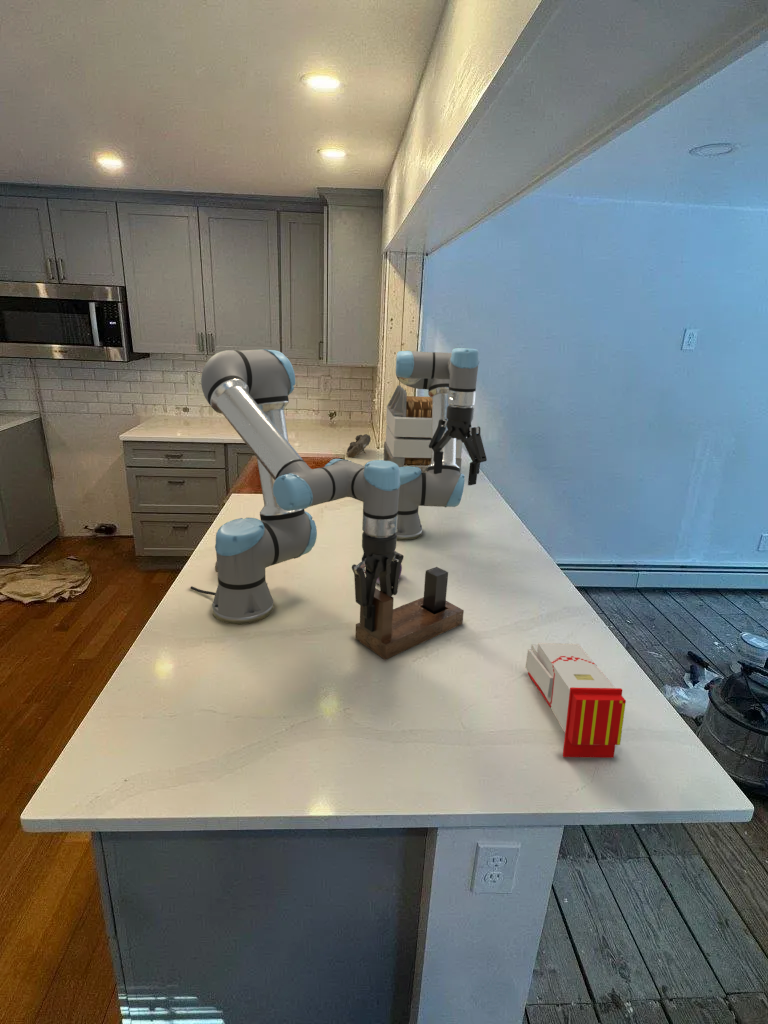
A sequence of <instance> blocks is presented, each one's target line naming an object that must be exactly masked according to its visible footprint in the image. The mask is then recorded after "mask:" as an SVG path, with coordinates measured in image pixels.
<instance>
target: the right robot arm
mask: <svg viewBox="0 0 768 1024" xmlns="http://www.w3.org/2000/svg"><path fill="white" fill-rule="evenodd" d="M479 365H480V351H479V350H478V349H477V348H470V347H469V348H468V347H455V348H453V349H452V350H451V352H442V351H441V352H436V351H415V350H399V351H398V352H396V358H395V376H396V378H397V380H398V382H400V384H402V385H405V386H407V387H408V388H413V389H417V390H427V391H428V392H427V393H428V395H427V396H428V397H431V398H432V440H431V442H430V444H429V448H431V464H430V465H428V466H426V472H424V471H423V472H422V469H421V468H420V467H419V466H407V465H404V467H399V469H400V489H399V500H398V520H397V531H396V534H397V540H396V541H410V540H415V539H418V538H420V537H421V536H422V535H423V525H422V524H421V518H420V515H419V507H436V508H437V507H438V508H455V507H457V506H459V505H460V503H461V501H462V498H463V493H464V488H465V480H466V479H465V474H464V473H462V472H461V474H460V468H459V467H458V466H457V465H456V439H458V440H461V441H462V442H463V443H462V444H463V445H464V447H465V449H466V451H467V454H468V455H469V458H470V459H471V462H469V467H468V468H469V470H468V479H467V486H470V487H471V486H475V485H477V478H478V475H479V473H480V468H481V463H485V462H487V461H488V458H487V454H486V450H485V447H484V443H483V440H482V435H481V427H480V426H472V422H473V420H474V415H475V408H474V407H473V406H475V404H476V395H477V394H476V392H477V381H478V373H479Z"/></svg>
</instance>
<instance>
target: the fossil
mask: <svg viewBox="0 0 768 1024" xmlns="http://www.w3.org/2000/svg"><path fill="white" fill-rule="evenodd" d="M354 440H355V441H351V442H350V443H349V446H348V447H347V450H346V456H347V457H348V458H352V457H355V456H357V455H359V454H360V453H361V452H363V453H364V454H366V452H365V449H366V448H367V446H369V445H370V443H371V440H372V439H371V436H370V434H367V433H365V434H358V435H356V436H355V438H354Z"/></svg>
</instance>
